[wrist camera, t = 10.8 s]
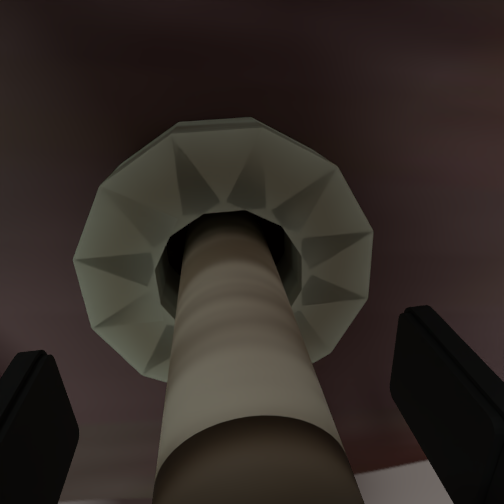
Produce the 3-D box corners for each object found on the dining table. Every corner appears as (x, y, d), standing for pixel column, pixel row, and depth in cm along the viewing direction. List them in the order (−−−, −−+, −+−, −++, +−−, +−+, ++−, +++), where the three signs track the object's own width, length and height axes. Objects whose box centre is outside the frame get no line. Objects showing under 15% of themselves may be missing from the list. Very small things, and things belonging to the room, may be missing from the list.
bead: (76, 128, 17) (40, 143, 13) (346, 110, 18) (382, 118, 14) (128, 351, 22) (113, 406, 18) (336, 327, 23) (361, 375, 19)
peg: (180, 208, 19) (127, 483, 6) (262, 201, 19) (375, 449, 6) (190, 281, 20) (165, 617, 8) (265, 273, 21) (361, 584, 8)
